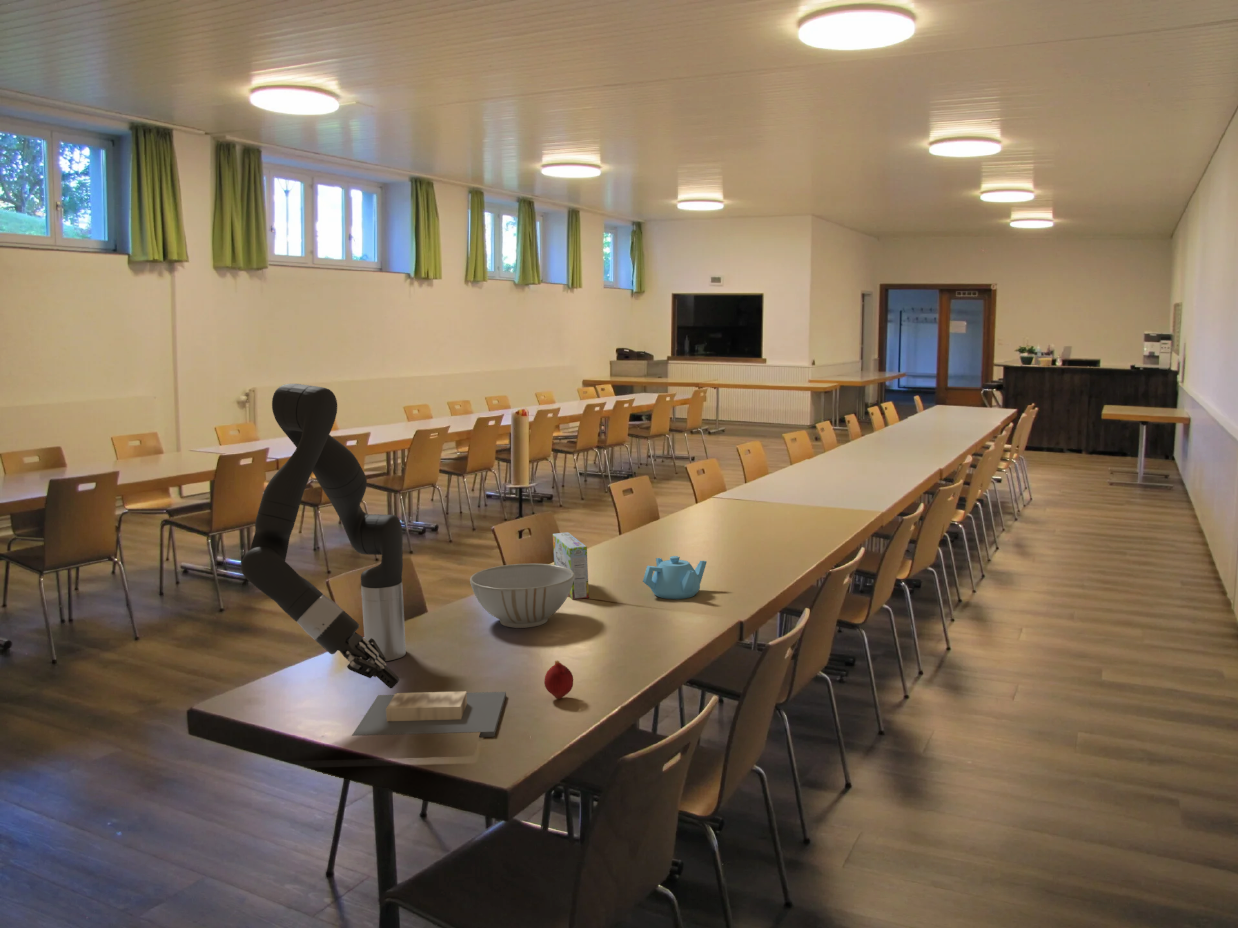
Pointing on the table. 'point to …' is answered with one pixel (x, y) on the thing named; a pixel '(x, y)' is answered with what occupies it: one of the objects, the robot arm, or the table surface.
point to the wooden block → (427, 706)
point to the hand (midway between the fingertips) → (395, 683)
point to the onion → (558, 680)
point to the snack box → (572, 562)
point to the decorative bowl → (522, 592)
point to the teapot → (674, 578)
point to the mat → (476, 718)
